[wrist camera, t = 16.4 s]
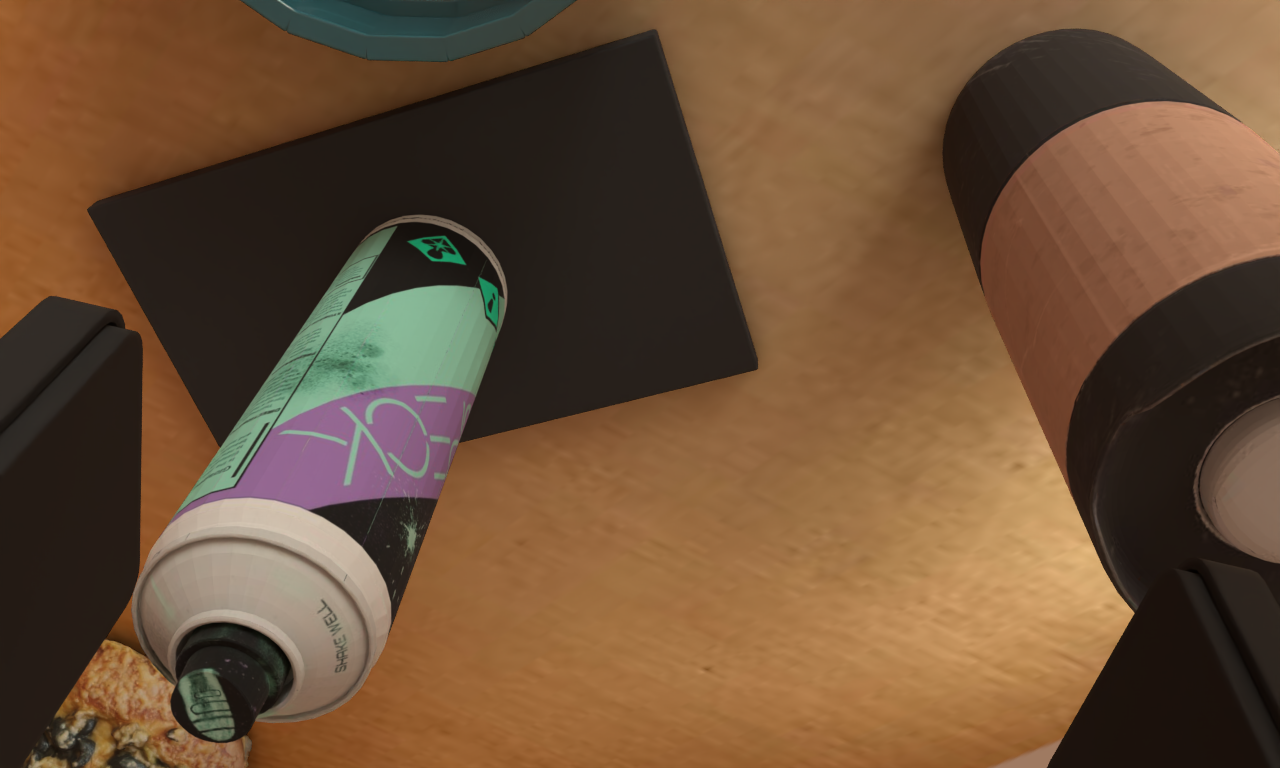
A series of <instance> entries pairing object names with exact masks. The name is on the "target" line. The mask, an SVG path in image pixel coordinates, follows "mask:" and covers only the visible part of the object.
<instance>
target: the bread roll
mask: <svg viewBox="0 0 1280 768" xmlns="http://www.w3.org/2000/svg"><path fill="white" fill-rule="evenodd" d="M174 688H175V686H174V685H173V684H172V683H170V682H169V681H168V680H167V679H166V678H165V677H164V676H163V675H162V674H161V673H160V672H159V671H158V670H157V668H156V667H155V666H154V665H153V664H152V663H151V661H150V659H149V658H148V656H146V655H145V656H144V655H142V654H140V653H138V652H136V650H132V649H131V648H130V647H128V646H124V645H123V644H121V643H118V642H115V641H108V640H104V641H103V643H102V644H101V646H100V647H99V649H98V650H97V652H96V653H95V655H94V656H93V658H92V660H91V661H90V663H89V664H88V666H87V667H86V669H85V670H84V672H83V673H82V675H81V676H80V678H79V679H78V681H77V682H76V684H75V686H74V687H73V689H72V690H71V692H70V693H69V695H68V696H67V698H66V699H65V701H64V702H63V704H62V705H61V707H60V708H59V710H58V711H57V713H56V715H55V716H54V718H53V719H52V721H51V722H50V724H49V725H48V727H47V728H46V730H45V731H44V733H43V734H42V736H41V737H40V739H39V741H38V742H37V744H36V745H35V747H34V748H33V750H32V751H31V753H30V754H29V756H28V757H27V759H26V760H25V762H24V763H23V765H22V766H21V768H247V767H248V764H249V763H248V762H247V760H248V756H249V752H250V750H251V745H252V741H251V740H250V739H249V737H248V736H243V737H242V738H241V739H238V740H236V741H234V742H229V743H214V742H208V741H205V740H201V739H199V738H196V737H194V736H193V735H191V734H190V733H188V732H187V731H186V730H185V729H184V728H182V726H181V725H180V724H179V723H178V722H177V721H176V719H175V718H174V716H173V714H172V711H171V706H170V700H171V696H172V693H173V690H174Z"/></svg>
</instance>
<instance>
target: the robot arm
mask: <svg viewBox="0 0 1280 768" xmlns="http://www.w3.org/2000/svg"><path fill="white" fill-rule="evenodd" d="M142 368H143V346H142V339H141V336H140V334H139V333H138V332H136V331H132V330H128V329H125V323H124V320H123V317H122V314H120V313H119V312H118V311H117V310H114V309H109V308H105V307H101V306H96V305H92V304H88V303H83V302H79V301H74V300H70V299H66V298H61V297H57V296H49V297H48V298H46V299H44V300H43V301H41V302H40V303H39V304H38V305H37V306H36V307H35V308H34V309H33V310H31V311H30V312H29V313H28V314H27V315H26V316H25V317H24V318H23V319H22V320H20V321H19V322H18V323H17V324H16V325H15V326H14V327H13V328H12V329H11V330H9V331H8V332H7V333H6V334H5V335H4V336H3V337H2V338H1V339H0V768H21V766H22V765H23V763H24V762H25V760H26V759H27V757H28V756H29V754H30V753H31V751H32V750H33V748H34V747H35V745H36V744H37V742H38V741H39V739H40V737H41V736H42V734H43V733H44V731H45V730H46V728H47V727H48V725H49V724H50V722H51V721H52V719H53V718H54V716H55V715H56V713H57V711H58V710H59V708H60V707H61V705H62V704H63V702H64V701H65V699H66V698H67V696H68V695H69V693H70V692H71V690H72V689H73V687H74V686H75V684H76V682H77V681H78V679H79V678H80V676H81V675H82V673H83V672H84V670H85V669H86V667H87V666H88V664H89V663H90V661H91V660H92V658H93V656H94V655H95V653H96V652H97V650H98V649H99V647H100V646H101V644H102V643H103V641H104V640H105V638H106V637H107V635H108V634H109V632H110V631H111V629H112V627H113V626H114V624H115V623H116V621H117V620H118V618H119V617H120V615H121V614H122V612H123V611H124V609H125V608H126V606H127V604H128V602H129V600H130V598H131V596H132V594H133V591H134V588H135V585H136V582H137V578H138V573H139V565H140V509H141V439H142ZM1047 768H1280V607H1279V605H1278V604H1277V602H1276V600H1275V598H1274V596H1273V595H1272V593H1271V591H1270V589H1269V588H1268V586H1267V584H1266V582H1265V581H1264V579H1263V578H1262V577H1261V576H1260V575H1259V573H1257V572H1254V571H1252V570H1249V569H1245V568H1240V567H1236V566H1231V565H1227V564H1223V563H1218V562H1214V561H1210V560H1205V559H1201V558H1197V557H1193V558H1188V559H1186V560H1185V561H1183V562H1182V563H1181V564H1179V566H1178V567H1177V568H1176V569H1174V568H1165V569H1163V570H1162V571H1161V572H1159V574H1158V575H1157V576H1156V578H1155V579H1154V581H1153V582H1152V584H1151V586H1150V588H1149V589H1148V591H1147V593H1146V595H1145V596H1144V598H1143V600H1142V602H1141V603H1140V605H1139V607H1138V608H1137V610H1136V612H1135V614H1134V615H1133V617H1132V619H1131V621H1130V622H1129V624H1128V626H1127V628H1126V629H1125V631H1124V633H1123V635H1122V636H1121V638H1120V640H1119V642H1118V643H1117V645H1116V647H1115V649H1114V650H1113V652H1112V654H1111V656H1110V657H1109V659H1108V661H1107V663H1106V664H1105V666H1104V668H1103V670H1102V671H1101V673H1100V675H1099V677H1098V678H1097V680H1096V682H1095V684H1094V685H1093V687H1092V689H1091V691H1090V692H1089V694H1088V696H1087V698H1086V699H1085V701H1084V703H1083V705H1082V706H1081V708H1080V710H1079V711H1078V713H1077V715H1076V717H1075V718H1074V720H1073V722H1072V724H1071V725H1070V727H1069V729H1068V731H1067V732H1066V734H1065V736H1064V738H1063V739H1062V741H1061V743H1060V745H1059V747H1058V748H1057V750H1056V752H1055V754H1054V755H1053V757H1052V759H1051V760H1050V762H1049V764H1048V767H1047Z"/></svg>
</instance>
